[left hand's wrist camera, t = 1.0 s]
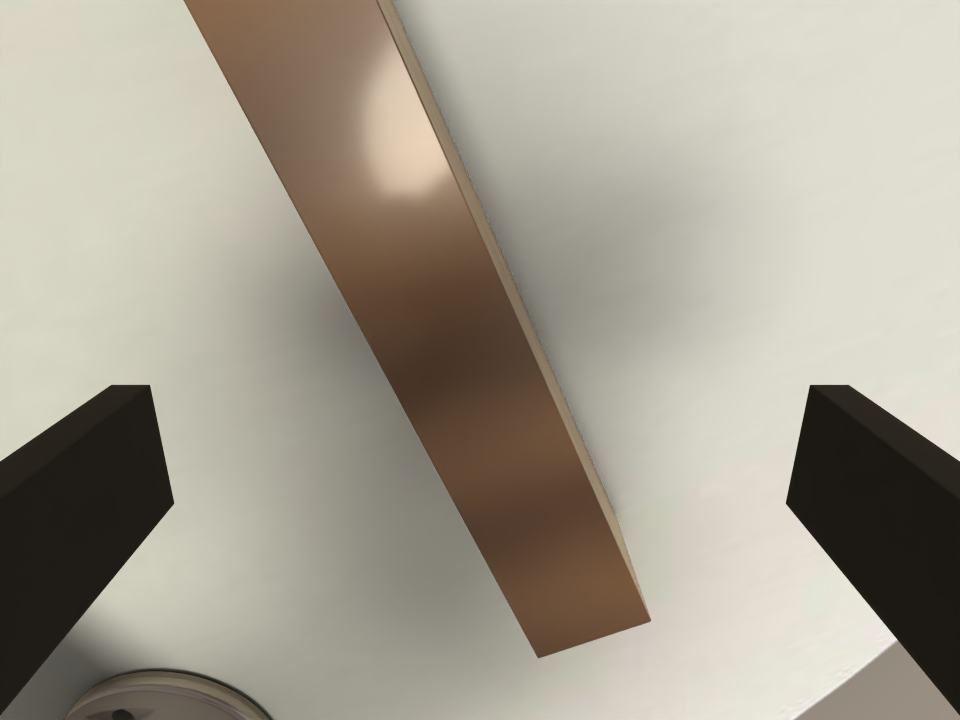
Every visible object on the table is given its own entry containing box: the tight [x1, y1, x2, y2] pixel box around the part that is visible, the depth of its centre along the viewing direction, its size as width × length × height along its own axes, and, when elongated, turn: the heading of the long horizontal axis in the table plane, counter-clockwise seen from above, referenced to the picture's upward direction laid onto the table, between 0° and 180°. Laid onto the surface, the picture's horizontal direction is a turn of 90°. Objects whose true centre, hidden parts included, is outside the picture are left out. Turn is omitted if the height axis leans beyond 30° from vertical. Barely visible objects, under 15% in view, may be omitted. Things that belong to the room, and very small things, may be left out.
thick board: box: [184, 0, 651, 658], centre depth 24 cm, size 50×6×8 cm, turn 24°
